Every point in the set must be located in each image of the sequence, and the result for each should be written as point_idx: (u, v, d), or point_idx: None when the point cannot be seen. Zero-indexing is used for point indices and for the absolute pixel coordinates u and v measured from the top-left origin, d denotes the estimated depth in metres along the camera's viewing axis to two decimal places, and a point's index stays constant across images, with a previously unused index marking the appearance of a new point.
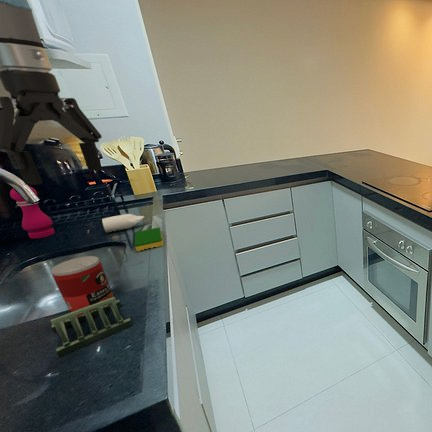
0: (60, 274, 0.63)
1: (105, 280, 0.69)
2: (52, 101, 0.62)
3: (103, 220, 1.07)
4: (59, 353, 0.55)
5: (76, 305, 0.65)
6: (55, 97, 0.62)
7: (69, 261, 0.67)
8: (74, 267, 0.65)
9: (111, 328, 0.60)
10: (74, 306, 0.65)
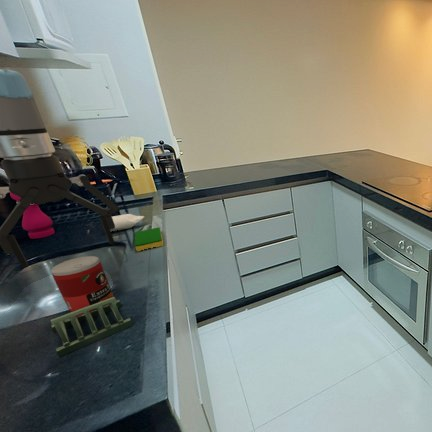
0: (60, 274, 0.63)
1: (105, 280, 0.69)
2: (54, 183, 0.60)
3: None
4: (59, 353, 0.55)
5: (76, 305, 0.65)
6: (58, 178, 0.60)
7: (69, 261, 0.67)
8: (74, 267, 0.65)
9: (111, 328, 0.60)
10: (74, 306, 0.65)
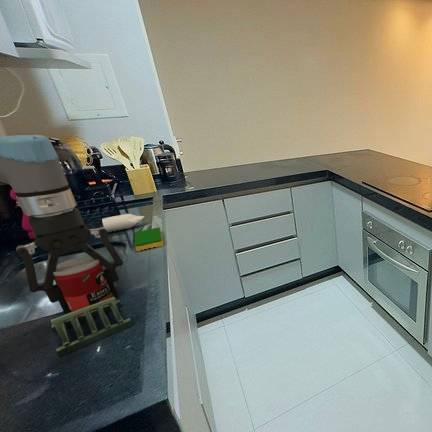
0: (60, 274, 0.63)
1: (105, 280, 0.69)
2: (75, 234, 0.64)
3: (103, 220, 1.07)
4: (59, 353, 0.55)
5: (76, 305, 0.65)
6: (79, 230, 0.64)
7: (69, 261, 0.67)
8: (74, 267, 0.65)
9: (111, 328, 0.60)
10: (74, 306, 0.65)
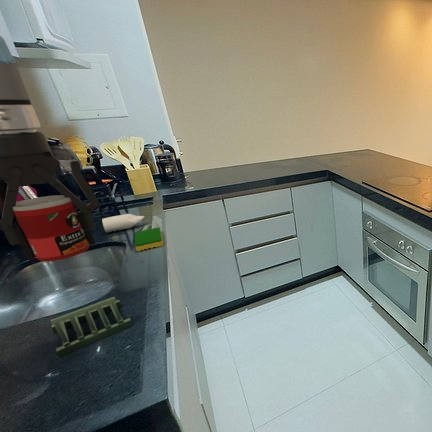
0: (20, 209, 0.52)
1: (78, 223, 0.58)
2: (39, 163, 0.53)
3: (103, 220, 1.07)
4: (59, 353, 0.55)
5: (42, 250, 0.55)
6: (45, 158, 0.54)
7: (34, 199, 0.57)
8: (39, 204, 0.54)
9: (111, 328, 0.60)
10: (39, 251, 0.55)
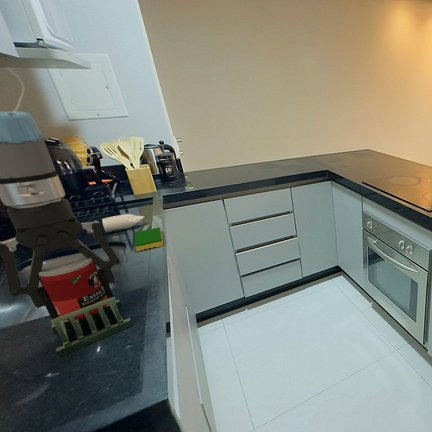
0: (46, 275, 0.54)
1: (99, 281, 0.61)
2: (64, 229, 0.55)
3: (103, 220, 1.07)
4: (59, 353, 0.55)
5: (65, 311, 0.57)
6: (69, 223, 0.56)
7: (58, 260, 0.59)
8: (63, 267, 0.57)
9: (111, 328, 0.60)
10: (63, 312, 0.57)
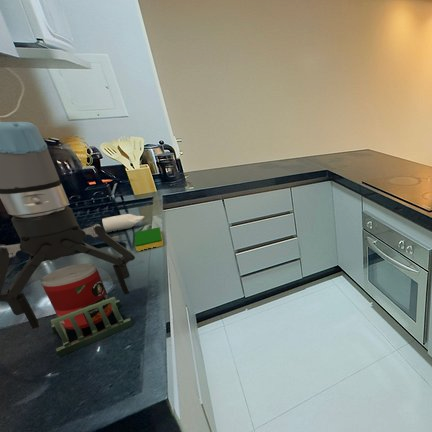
0: (51, 285, 0.55)
1: (103, 290, 0.61)
2: (67, 237, 0.56)
3: (103, 220, 1.07)
4: (59, 353, 0.55)
5: (69, 320, 0.58)
6: (72, 231, 0.56)
7: (62, 269, 0.60)
8: (67, 276, 0.57)
9: (111, 328, 0.60)
10: (67, 321, 0.58)
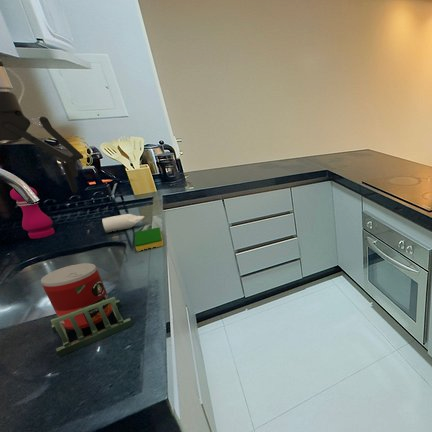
0: (51, 285, 0.55)
1: (103, 290, 0.61)
2: (10, 121, 0.58)
3: (103, 220, 1.07)
4: (59, 353, 0.55)
5: (69, 320, 0.58)
6: (15, 116, 0.58)
7: (62, 269, 0.60)
8: (67, 276, 0.57)
9: (111, 328, 0.60)
10: (67, 321, 0.58)
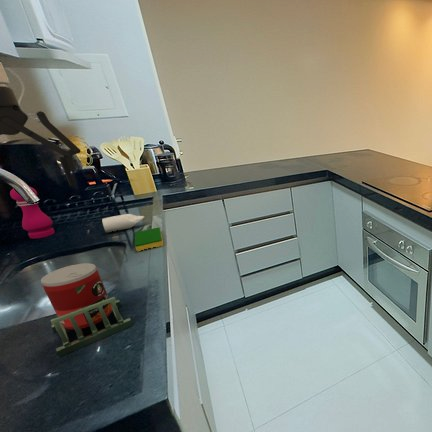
0: (51, 285, 0.55)
1: (103, 290, 0.61)
2: (8, 115, 0.59)
3: (103, 220, 1.07)
4: (59, 353, 0.55)
5: (69, 320, 0.58)
6: (13, 111, 0.59)
7: (62, 269, 0.60)
8: (67, 276, 0.57)
9: (111, 328, 0.60)
10: (67, 321, 0.58)
